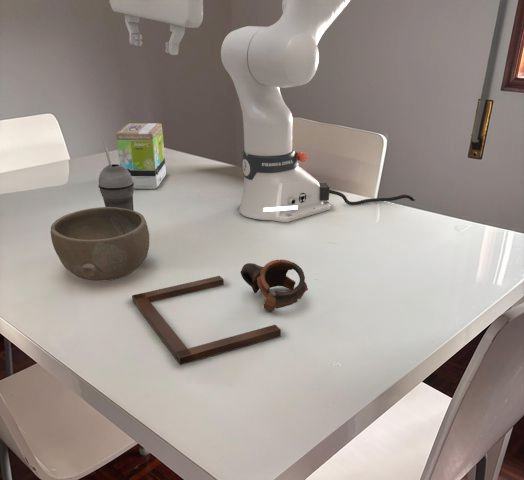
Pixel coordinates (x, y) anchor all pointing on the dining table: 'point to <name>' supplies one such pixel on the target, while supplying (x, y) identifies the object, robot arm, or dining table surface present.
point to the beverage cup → (116, 185)
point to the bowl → (101, 242)
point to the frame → (173, 340)
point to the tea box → (142, 153)
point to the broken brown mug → (275, 282)
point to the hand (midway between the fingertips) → (153, 49)
